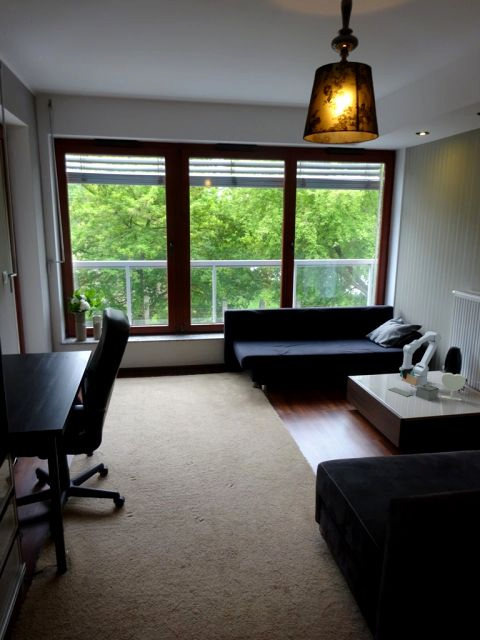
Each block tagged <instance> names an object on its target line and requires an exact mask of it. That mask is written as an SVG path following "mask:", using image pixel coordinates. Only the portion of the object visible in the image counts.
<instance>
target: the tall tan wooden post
mask: <svg viewBox="0 0 480 640" xmlns="http://www.w3.org/2000/svg"><path fill="white" fill-rule="evenodd" d="M400 379H401V381H403V382H405V383H407V384H410V386H411V385H414V386H417V381H418V378H417V377H414V376H412V375H410V374H407V377H406V379H404V378H403V374H402V376H401V378H400Z"/></svg>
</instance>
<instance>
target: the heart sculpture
mask: <svg viewBox="0 0 480 640" xmlns="http://www.w3.org/2000/svg"><path fill="white" fill-rule="evenodd" d="M441 382H442V385H443V387H445V388H446V389H447V390H449V391H450V392H449V393H450V394H449V395H443V394H442V395H440V397H441V399H442V398H443V399H448V400H453V401H462V398H459V397H454V396H453V395H454V392H456V391H459V390H461V389H462V388H463V387H465V385H466V377H465V376H464V375H463V374H459V373H456V374H453V372H445V373H443V374H442V376H441Z"/></svg>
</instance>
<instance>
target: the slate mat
mask: <svg viewBox="0 0 480 640" xmlns="http://www.w3.org/2000/svg"><path fill="white" fill-rule="evenodd" d="M388 391H389V392H393V393H396V394H398V395H401V396H404V397H406V398H407V397H411V396H414V393H411V392H409V391H406V390H403V389H401V388H398V387H391V388H388Z"/></svg>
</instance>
